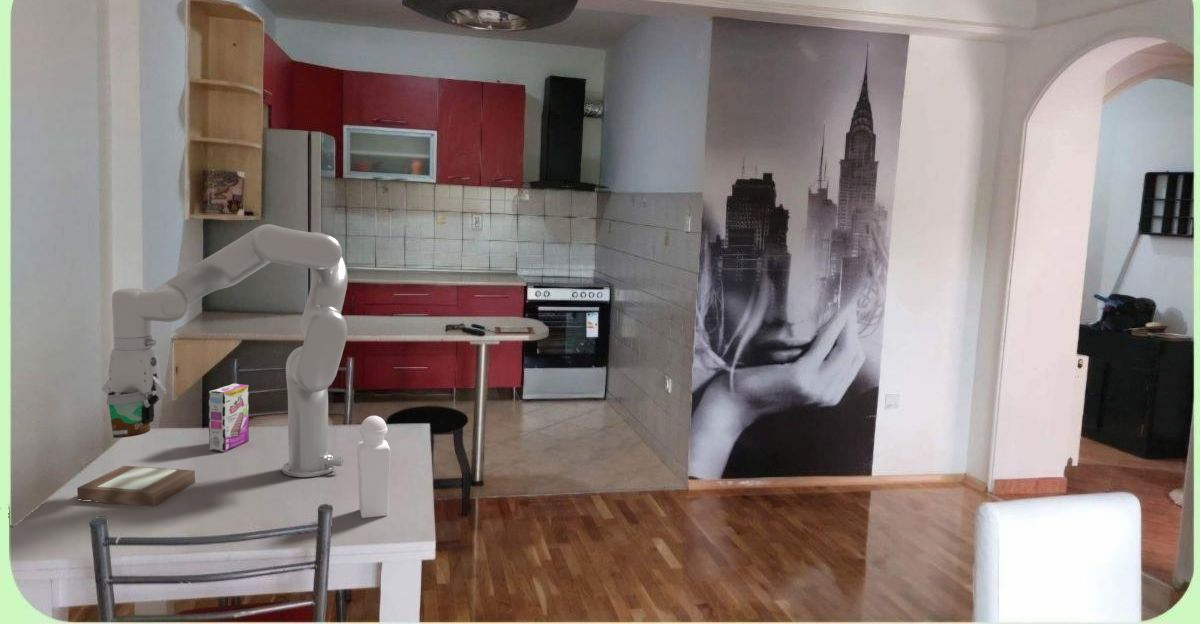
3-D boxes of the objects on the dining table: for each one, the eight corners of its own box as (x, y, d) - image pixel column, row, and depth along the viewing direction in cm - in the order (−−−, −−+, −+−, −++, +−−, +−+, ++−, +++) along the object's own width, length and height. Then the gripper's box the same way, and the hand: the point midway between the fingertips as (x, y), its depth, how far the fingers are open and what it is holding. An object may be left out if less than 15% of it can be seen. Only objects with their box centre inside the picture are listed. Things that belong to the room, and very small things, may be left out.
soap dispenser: (390, 516, 188) (390, 419, 185) (359, 519, 186) (359, 420, 183) (387, 506, 194) (387, 411, 191) (357, 508, 192) (356, 413, 189)
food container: (136, 440, 189) (133, 396, 188) (109, 439, 190) (106, 395, 188) (166, 425, 202) (164, 383, 200) (141, 425, 202) (138, 383, 201)
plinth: (195, 482, 205) (194, 469, 204) (154, 506, 189) (154, 492, 188) (123, 477, 206) (123, 464, 206) (77, 500, 190) (77, 487, 190)
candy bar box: (225, 452, 228) (224, 392, 226) (208, 451, 229) (207, 391, 227) (250, 441, 239) (249, 383, 237) (234, 439, 240) (233, 382, 238)
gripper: (178, 342, 196) (180, 420, 198) (107, 339, 197) (111, 415, 200) (158, 348, 188) (161, 428, 191) (85, 344, 190) (89, 423, 192)
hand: (135, 421), depth 195 cm, fingers closed on food container, 5 cm apart
